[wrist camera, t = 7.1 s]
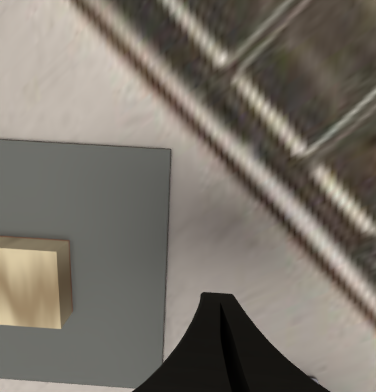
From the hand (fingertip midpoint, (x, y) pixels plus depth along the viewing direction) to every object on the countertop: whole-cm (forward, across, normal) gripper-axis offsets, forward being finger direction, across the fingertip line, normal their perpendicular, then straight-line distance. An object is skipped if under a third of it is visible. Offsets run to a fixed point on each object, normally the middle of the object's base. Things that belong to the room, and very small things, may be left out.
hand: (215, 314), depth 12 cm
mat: (+9, +11, +4) cm, 15 cm away
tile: (+8, +10, +4) cm, 13 cm away
